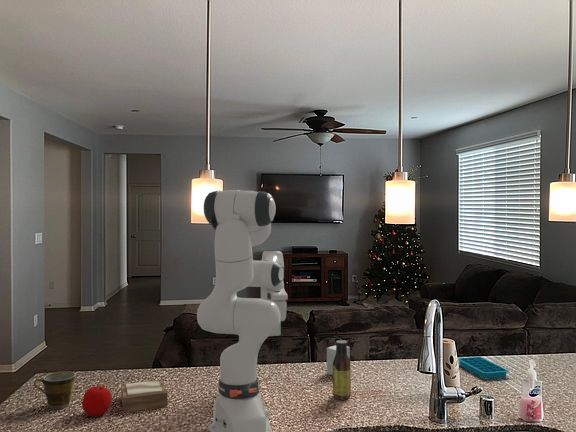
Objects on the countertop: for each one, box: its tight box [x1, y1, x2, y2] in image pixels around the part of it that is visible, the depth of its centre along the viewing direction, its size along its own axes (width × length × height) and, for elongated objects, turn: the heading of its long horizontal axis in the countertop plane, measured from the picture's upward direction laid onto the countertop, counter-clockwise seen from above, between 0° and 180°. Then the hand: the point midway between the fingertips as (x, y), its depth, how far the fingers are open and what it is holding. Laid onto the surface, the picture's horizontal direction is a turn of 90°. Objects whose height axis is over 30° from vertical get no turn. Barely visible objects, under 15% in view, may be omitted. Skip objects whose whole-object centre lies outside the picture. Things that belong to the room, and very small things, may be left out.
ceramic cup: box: [33, 370, 77, 410], centre depth 169 cm, size 13×10×10 cm
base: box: [120, 378, 168, 413], centre depth 173 cm, size 14×14×5 cm
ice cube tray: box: [457, 356, 510, 380], centre depth 207 cm, size 12×20×3 cm, turn 13°
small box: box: [326, 344, 351, 376], centre depth 204 cm, size 8×6×10 cm
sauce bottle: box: [332, 339, 352, 401], centre depth 177 cm, size 7×6×20 cm
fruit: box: [81, 382, 113, 418], centre depth 163 cm, size 9×9×10 cm
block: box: [269, 321, 282, 337], centre depth 193 cm, size 5×5×6 cm
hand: (272, 328), depth 193 cm, fingers closed on block, 5 cm apart
